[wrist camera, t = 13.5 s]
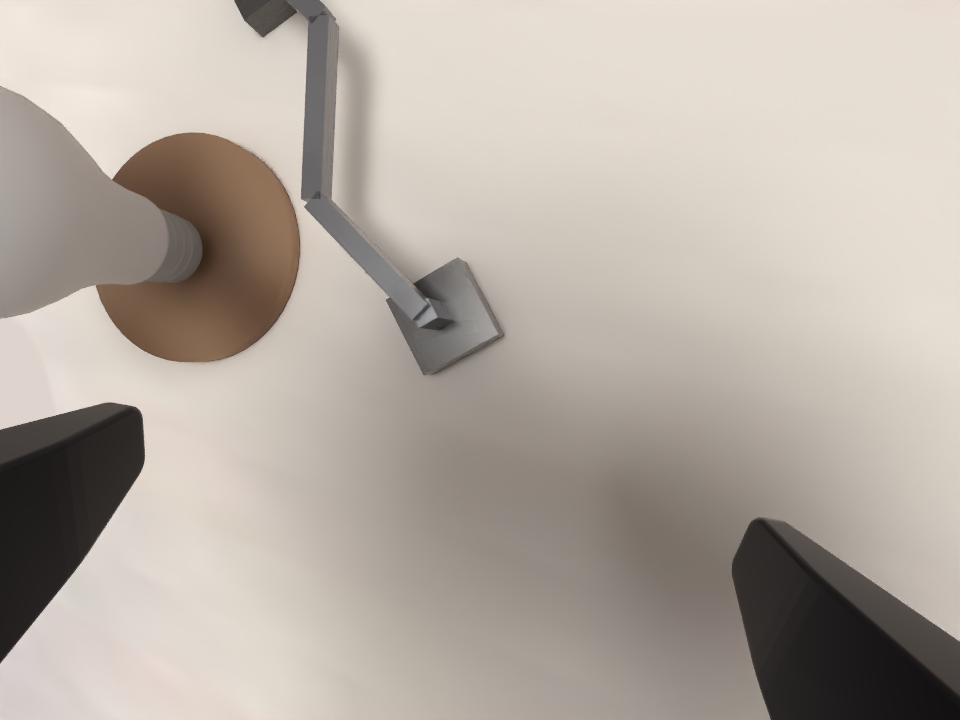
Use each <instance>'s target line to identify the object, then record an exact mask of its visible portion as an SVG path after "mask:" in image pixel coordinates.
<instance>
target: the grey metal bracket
mask: <svg viewBox="0 0 960 720" xmlns="http://www.w3.org/2000/svg"><path fill="white" fill-rule="evenodd" d="M234 1H235V3H236V5H237V7H238V9H239V11H240V13H241V15H242V17H243V19H244V20H245V21H246V22H247V23H248V24H249V25H250V26H251V27H252V28H253V29H254V30H256V31H257V32H258V33H259V34H260V35H261V36H262V37H264V36H266V35H267V34H268V33H270V32H271V31H272V30H274V29H275V28H276V27H278V26H279V25H280V24H282V23H283V22H284V21H286V20H287V19H288V18H290V17H291V16H293V15H294V14H295V13H297V12H298V13H299V14H300V15H301V16H302V17H303V18H304V19H305V20H307V21H308V22H309V26H308V49H307V72H306V95H305V118H304V141H303V165H302V188H301V199H302V200H304V201H306V202H308V203H307V204H306V205H305V206H304V207H305V208H306V209H307V211H308V212H309V213H310V214H311V215H312V216H313V217H314V218H315V219H316V220H317V221H318V222H319V223H320V224H321V225H322V226H323V227H324V228H325V229H326V231H327V232H328V233H329V234H330V235H331V236H332V237H333V238H334V239H335V240H336V241H337V242H338V243H339V244H340V245H341V246H342V247H343V248H344V249H345V250H346V252H347V253H348V254H349V255H350V256H351V257H352V258H353V259H354V260H355V261H356V262H357V263H358V264H359V265H360V266H361V267H362V268H363V269H364V270H365V271H366V273H367V274H368V275H369V276H370V277H371V278H372V279H373V280H374V281H375V282H376V283H377V284H378V285H379V286H380V287H381V288H382V289H383V290H384V291H385V293H386V294H387V295H388V296H389V297H390V298H388V299H387V300H386V301H387V303H388V305H389V307H390V309H391V311H392V313H393V315H394V317H395V319H396V321H397V323H398V325H399V327H400V329H401V331H402V333H403V335H404V337H405V339H406V341H407V343H408V345H409V347H410V349H411V351H412V353H413V355H414V357H415V359H416V361H417V363H418V365H419V367H420V369H421V371H422V373H423V375H428V374H434V373H436V372H438V371H440V370H442V369H444V368H445V367H447V366H449V365H451V364H453V363H454V362H456V361H458V360H460V359H462V358H464V357H465V356H467V355H469V354H471V353H473V352H475V351H476V350H478V349H480V348H482V347H484V346H486V345H487V344H489V343H491V342H493V341H495V340H496V339H498V338H500V337H502V336H504V333H503V332H502V330H501V328H500V326H499V324H498V322H497V320H496V318H495V316H494V314H493V312H492V311H491V309H490V307H489V305H488V303H487V301H486V299H485V297H484V295H483V293H482V292H481V290H480V288H479V286H478V284H477V282H476V280H475V278H474V276H473V274H472V272H471V271H470V269H469V267H468V265H467V263H466V262H464V261H463V260H461V259H460V258H456V259H454V260H453V261H451V262H449V263H448V264H446V265H444V266H442V267H441V268H439V269H437V270H436V271H434V272H432V273H431V274H429V275H427V276H426V277H424V278H422V279H420V280H419V281H417V282H415V283H414V284H413V283H412V282H411V281H410V280H409V279H408V278H407V277H406V276H405V275H404V274H403V273H402V272H401V271H400V270H399V269H398V268H397V267H396V266H395V265H394V264H393V263H392V262H391V261H390V260H389V259H388V258H387V257H386V256H385V254H384V253H383V252H382V251H381V250H380V249H379V248H378V247H377V246H376V245H375V244H374V243H373V242H372V241H371V240H370V239H369V238H368V237H367V236H366V235H365V234H364V233H363V232H362V231H361V230H360V229H359V228H358V226H357V225H356V224H355V223H354V222H353V221H352V220H351V219H350V218H349V217H348V216H347V215H346V214H345V213H344V212H343V211H342V210H341V209H340V208H339V207H338V206H337V205H336V204H335V203H334V202H333V201H332V200H331V197H332V174H333V152H334V129H335V107H336V84H337V62H338V40H339V26H338V25H337V24H336V22H335V20H336V18H335V17H334V16H333V15H332V13H331V12H330V11H329V10H328V9H327V7H326V6H325V5H324V4H323V3H322V2H321V1H319V0H234Z"/></svg>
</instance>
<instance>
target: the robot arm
mask: <svg viewBox="0 0 960 720" xmlns="http://www.w3.org/2000/svg"><path fill="white" fill-rule="evenodd" d="M144 460H145V447H144V431H143V418H142V414H141V412H140V410H139V409H137V408H136V407H133V406H128V405H122V404H117V403H103V404H99V405H95V406H91V407H87V408H83V409H80V410H76V411H72V412H68V413H64V414H60V415H56V416H52V417H48V418H44V419H40V420H37V421H33V422H29V423H25V424H21V425H17V426H13V427H9V428H5V429H2V430H0V663H1V662H2V661H3V659H4V658H5V657H6V656H7V654H8V653H9V652H10V651H11V650H12V648H13V647H14V646H15V645H16V643H17V642H18V641H19V640H20V638H21V637H22V636H23V635H24V633H25V632H26V631H27V630H28V629H29V627H30V626H31V625H32V624H33V622H34V621H35V620H36V619H37V617H38V616H39V615H40V614H41V612H42V611H43V610H44V609H45V608H46V606H47V605H48V604H49V603H50V601H51V600H52V599H53V598H54V596H55V595H56V594H57V593H58V591H59V590H60V589H61V588H62V587H63V585H64V584H65V583H66V582H67V580H68V579H69V578H70V577H71V575H72V574H73V573H74V571H75V570H76V569H77V567H78V566H79V565H80V564H81V562H82V561H83V559H84V558H85V556H86V555H87V554H88V552H89V551H90V549H91V548H92V546H93V545H94V543H95V542H96V540H97V539H98V537H99V536H100V534H101V533H102V531H103V530H104V528H105V526H106V525H107V523H108V522H109V520H110V519H111V517H112V516H113V514H114V513H115V511H116V510H117V508H118V507H119V505H120V503H121V502H122V500H123V499H124V497H125V496H126V494H127V493H128V491H129V490H130V488H131V487H132V485H133V484H134V482H135V480H136V479H137V477H138V476H139V474H140V472H141V470H142V468H143V465H144ZM732 577H733V582H734V586H735V590H736V594H737V598H738V603H739V607H740V611H741V615H742V620H743V624H744V628H745V632H746V636H747V641H748V645H749V649H750V653H751V658H752V661H753V665H754V669H755V672H756V676H757V679H758V682H759V686H760V689H761V692H762V695H763V698H764V701H765V704H766V707H767V710H768V712H769V715H770V718H771V720H960V641H958V640H957V639H955V638H954V637H952V636H951V635H949V634H948V633H946V632H945V631H943V630H942V629H941V628H939V627H938V626H936V625H935V624H933V623H932V622H930V621H929V620H927V619H926V618H925V617H923V616H922V615H920V614H919V613H917V612H916V611H914V610H913V609H911V608H910V607H908V606H907V605H906V604H904V603H903V602H901V601H900V600H898V599H897V598H895V597H894V596H892V595H891V594H890V593H888V592H887V591H885V590H884V589H882V588H881V587H879V586H878V585H876V584H875V583H873V582H872V581H871V580H869V579H868V578H866V577H865V576H863V575H862V574H860V573H859V572H857V571H856V570H855V569H853V568H852V567H850V566H849V565H847V564H846V563H844V562H843V561H841V560H840V559H838V558H837V557H836V556H834V555H833V554H831V553H830V552H828V551H827V550H825V549H824V548H822V547H821V546H819V545H818V544H817V543H815V542H814V541H812V540H811V539H809V538H808V537H806V536H805V535H803V534H802V533H801V532H799V531H798V530H796V529H795V528H793V527H792V526H790V525H789V524H787V523H786V522H783V521H779V520H773V519H767V518H761V517H758V518H756V519H754V520H753V521H752V522H751V523H750V524H749V526H748V528H747V530H746V533H745V535H744V537H743V539H742V541H741V543H740V546H739V548H738V550H737V552H736V554H735V556H734V559H733V563H732Z"/></svg>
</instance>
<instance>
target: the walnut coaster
mask: <svg viewBox="0 0 960 720" xmlns="http://www.w3.org/2000/svg"><path fill="white" fill-rule="evenodd" d="M112 180H113V181H114V182H116V183H117V184H119V185H121V186H122V187H124V188H126V189H127V190H129V191H132V192H134V193H137V194H139V195H141V196H143V197H145V198H147V199H148V200H150V201H151V202H152V203H154V204H155V205H156V206H157V207H158V208H159V209H161V210H164V211H167V212H169V213H171V214H175V215H177V216H179V217H181V218H183V219H185V220H188V221H189V222H190V223H192V224H193V226H194V227H195V228H196V229H197V231H198V233H199V235H200V238H201V241H202V247H203V249H202V258H201V261H200V264H199V266H198V268H197V269H196V271H195V272H194V273H193V274H192V275H191V276H190V277H188V278H187V279H185V280H183V281H181V282H177V283H169V282H148V281H143V282H140V283H135V284H131V285H121V284H101V285H96V288H97V291H98V294H99V296H100V299H101V302H102V304H103V306H104V308H105V310H106V312H107V314H108V315H109V317H110V318H111V320H112V321H113V323H114V324H115V326H116V327H117V328H118V329H119V330H120V331H121V333H122V334H123V335H124V336H125V337H126V338H128V339H129V340H130V341H131V342H132V343H133V344H135V345H136V346H138V347H139V348H141V349H142V350H144V351H146V352H148V353H150V354H152V355H154V356H156V357H160V358H163V359H166V360H171V361H178V362H207V361H214V360H220V359H223V358H226V357H230V356H232V355H234V354H237V353H239V352H241V351H243V350H245V349H246V348H248V347H249V346H251V345H252V344H254V343H255V342H256V341H257V340H258V339H260V338H261V337H262V336H263V335H264V334H265V333H266V332H267V331H268V330H269V329H270V327H271V326H272V325H273V324H274V323H275V321H276V320H277V318H278V317H279V315H280V314H281V312H282V311H283V309H284V307H285V305H286V303H287V301H288V299H289V297H290V294H291V291H292V288H293V286H294V283H295V278H296V274H297V270H298V261H299V233H298V225H297V220H296V216H295V212H294V209H293V206H292V204H291V201H290V199H289V196H288V194H287V192H286V190H285V189H284V187H283V185H282V183H281V182H280V180H279V179H278V178H277V176H276V175H275V174H274V172H273V171H272V170H271V169H270V168H269V167H268V166H267V165H266V164H265V163H264V162H263V161H262V160H260V159H259V158H258V157H256V156H255V155H254V154H252V153H250V152H249V151H247V150H245V149H243V148H242V147H240V146H238V145H236V144H234V143H233V142H231V141H229V140H226V139H224V138H221V137H218V136H215V135H210V134H205V133H182V134H176V135H172V136H168V137H164V138H162V139H160V140H157V141H155V142H153V143H151V144H149V145H148V146H146V147H144V148H143V149H141V150H140V151H139V152H137V153H136V154H135V155H134V156H132V157H131V158H130V159H129V160H128V161H127V162H126V163H125V164H124V165H123V166H122V167H121V169H120V170H119V171H118V173H117V174H116V175H115V177H114V178H113V179H112Z"/></svg>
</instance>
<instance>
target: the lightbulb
mask: <svg viewBox="0 0 960 720" xmlns="http://www.w3.org/2000/svg"><path fill="white" fill-rule="evenodd" d="M202 249H203V247H202V241H201V238H200V235H199V233H198V231H197V229H196V228H195V227H194V226H193V224H192V223H190V222H189V221H188V220H185V219H183V218H181V217H179V216H177V215H175V214H171V213H169V212H167V211H164V210H161V209H159V208H158V207H157V206H156V205H155V204H154V203H152V202H151V201H150V200H148V199H147V198H145V197H143V196H141V195H139V194H137V193H134V192H132V191H129V190H127V189H126V188H124V187H122V186H121V185H119V184H117V183H116V182H114V181H113V180H112V179H110V178H109V177H108V176H107V175H106V174H105V173H104V172H103V171H102V170H101V169H100V167H99V166H98V165H97V163H96V162H95V161H94V159H93V158H92V157H91V156H90V155H89V154H88V152H87V151H86V150H85V149H84V148H83V147H82V145H81V144H80V143H79V142H78V141H77V140H76V139H75V138H74V137H73V136H72V134H71V133H70V132H69V131H68V130H67V129H66V128H65V127H64V126H63V125H62V124H61V123H60V122H59V121H58V120H56V119H55V118H54V117H52V116H51V115H50V114H48V113H47V112H46V111H44V110H43V109H41V108H40V107H39V106H37V105H36V104H34V103H33V102H31V101H30V100H29V99H27V98H26V97H24V96H22V95H20V94H17V93H15V92H13V91H11V90H8V89H6V88H4V87H1V86H0V319H1V318H7V317H13V316H18V315H22V314H26V313H30V312H32V311H35V310H37V309H40V308H42V307H44V306H47V305H49V304H51V303H54V302H56V301H58V300H60V299H62V298H64V297H67V296H69V295H71V294H72V293H74V292H76V291H78V290H80V289H82V288H85V287H89V286H93V285H101V284H121V285H131V284H135V283H140V282H143V281H148V282H169V283H177V282H181V281H183V280H185V279H187V278H188V277H190V276H191V275H192V274H193V273H194V272H195V271H196V269H197V268H198V266H199V264H200V261H201V258H202Z"/></svg>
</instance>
